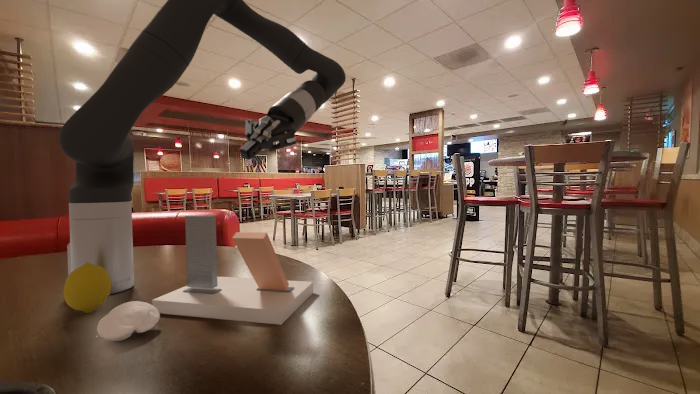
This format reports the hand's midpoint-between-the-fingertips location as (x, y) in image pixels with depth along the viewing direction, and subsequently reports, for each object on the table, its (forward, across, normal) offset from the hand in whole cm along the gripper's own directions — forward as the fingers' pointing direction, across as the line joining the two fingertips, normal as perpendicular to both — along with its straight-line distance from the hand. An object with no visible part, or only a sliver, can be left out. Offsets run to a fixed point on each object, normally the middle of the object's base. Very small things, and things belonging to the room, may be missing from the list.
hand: (243, 155), depth 56 cm
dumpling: (+32, +6, +4) cm, 33 cm away
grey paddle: (+22, +6, +11) cm, 26 cm away
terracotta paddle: (+17, +17, +11) cm, 26 cm away
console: (+21, +12, +12) cm, 27 cm away
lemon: (+33, -7, +10) cm, 35 cm away
